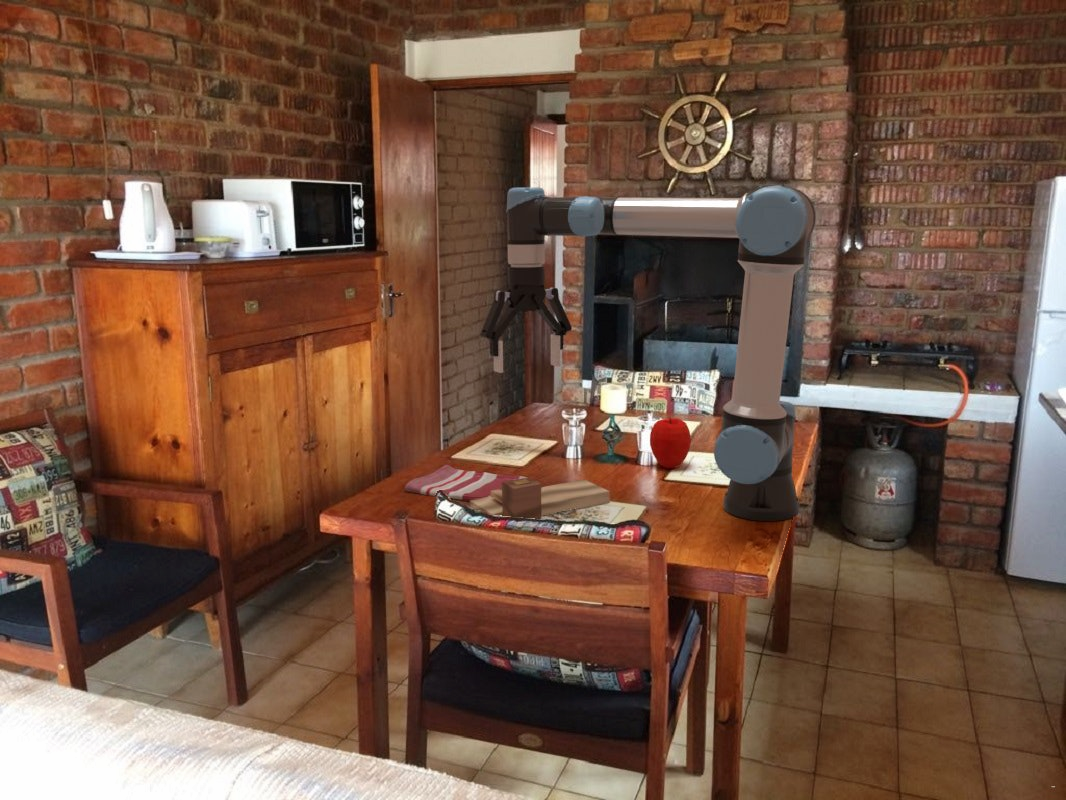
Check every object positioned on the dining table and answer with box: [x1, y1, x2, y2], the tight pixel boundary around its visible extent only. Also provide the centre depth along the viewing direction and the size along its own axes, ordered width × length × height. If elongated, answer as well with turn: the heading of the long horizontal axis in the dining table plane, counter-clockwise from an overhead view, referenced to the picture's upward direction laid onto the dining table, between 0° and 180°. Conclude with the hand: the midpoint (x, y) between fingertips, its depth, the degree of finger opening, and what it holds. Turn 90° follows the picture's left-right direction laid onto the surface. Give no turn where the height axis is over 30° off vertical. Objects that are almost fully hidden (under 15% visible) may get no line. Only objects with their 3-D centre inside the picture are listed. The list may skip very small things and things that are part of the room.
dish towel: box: [404, 464, 528, 503], centre depth 202 cm, size 17×23×3 cm
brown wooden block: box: [491, 477, 543, 520], centre depth 181 cm, size 14×6×9 cm, turn 30°
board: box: [469, 479, 611, 517], centre depth 189 cm, size 10×28×2 cm, turn 120°
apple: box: [649, 417, 692, 469], centre depth 217 cm, size 10×10×12 cm
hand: (527, 368), depth 187 cm, fingers open, 13 cm apart
